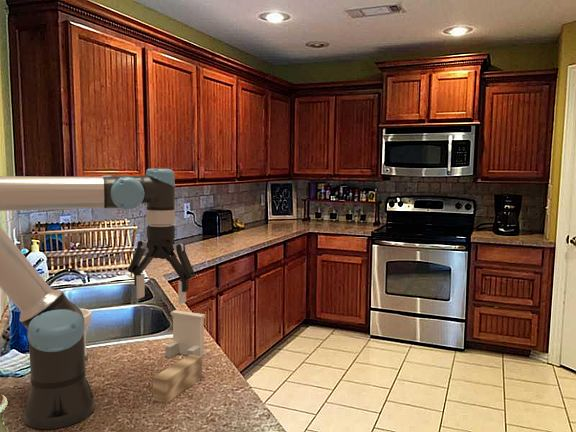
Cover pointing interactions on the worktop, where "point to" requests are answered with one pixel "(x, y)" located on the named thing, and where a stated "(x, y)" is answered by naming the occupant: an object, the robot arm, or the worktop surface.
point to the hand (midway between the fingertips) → (161, 300)
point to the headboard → (186, 334)
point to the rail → (177, 378)
